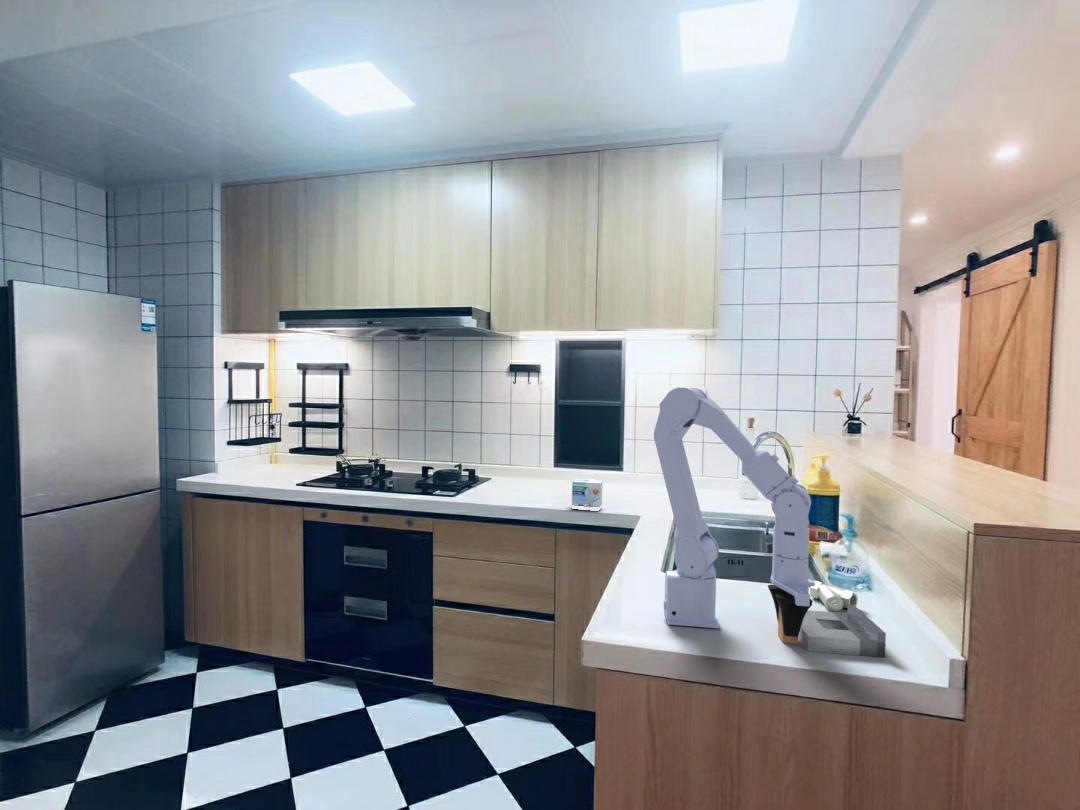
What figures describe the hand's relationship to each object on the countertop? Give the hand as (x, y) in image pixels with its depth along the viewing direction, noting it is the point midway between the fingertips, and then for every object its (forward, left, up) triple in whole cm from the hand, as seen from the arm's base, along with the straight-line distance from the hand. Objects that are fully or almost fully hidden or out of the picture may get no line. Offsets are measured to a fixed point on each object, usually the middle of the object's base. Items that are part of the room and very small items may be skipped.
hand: (788, 631), depth 96 cm
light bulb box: (-41, +102, -2) cm, 110 cm away
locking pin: (0, 0, -1) cm, 1 cm away
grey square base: (+8, +2, -1) cm, 8 cm away
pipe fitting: (+13, +19, -2) cm, 23 cm away
